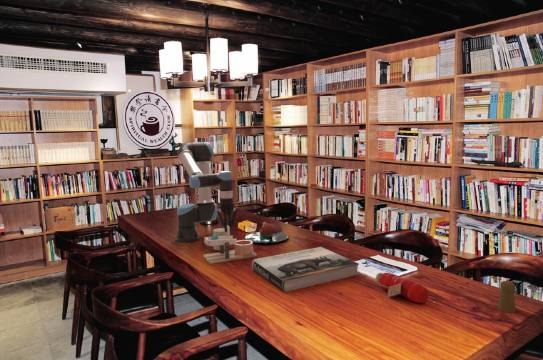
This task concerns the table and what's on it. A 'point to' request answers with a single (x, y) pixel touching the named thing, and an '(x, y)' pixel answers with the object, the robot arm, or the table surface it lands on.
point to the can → (219, 233)
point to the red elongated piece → (402, 287)
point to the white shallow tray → (220, 241)
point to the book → (304, 268)
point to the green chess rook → (507, 297)
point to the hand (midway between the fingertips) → (228, 237)
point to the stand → (225, 255)
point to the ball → (214, 237)
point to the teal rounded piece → (267, 234)
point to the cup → (243, 247)
